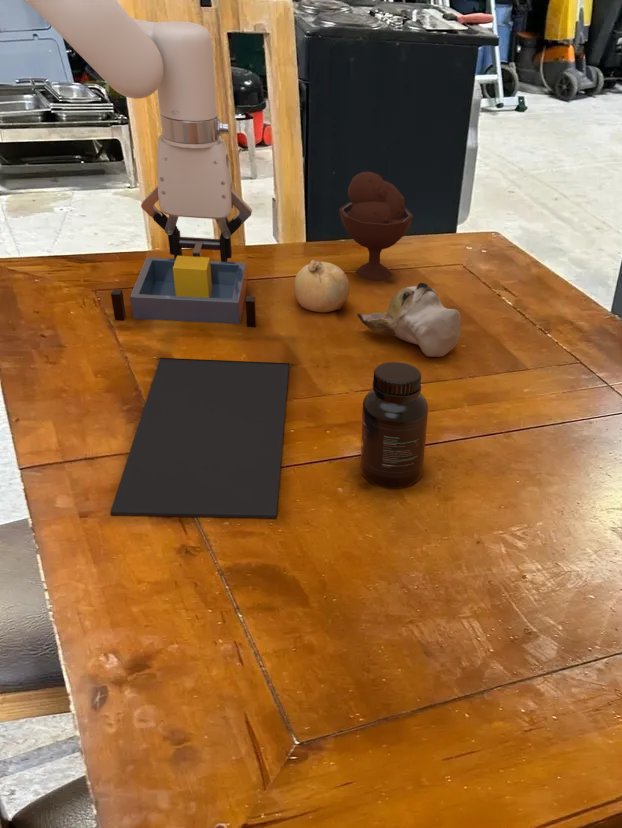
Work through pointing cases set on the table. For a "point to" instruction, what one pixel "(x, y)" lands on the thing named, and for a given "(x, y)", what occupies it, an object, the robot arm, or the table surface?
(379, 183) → the ice cream bowl
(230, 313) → the blue-grey tray
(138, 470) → the mat
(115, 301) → the dark brown post pair
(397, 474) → the supplement bottle
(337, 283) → the onion
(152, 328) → the table surface
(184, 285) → the block
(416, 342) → the ceramic sculpture
